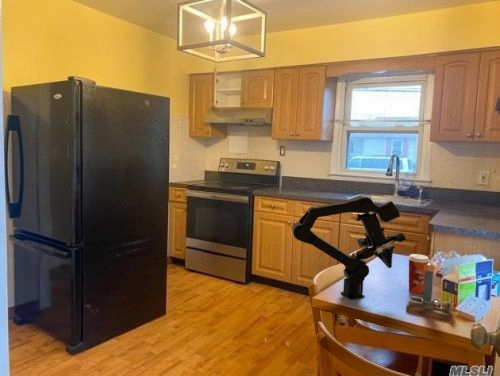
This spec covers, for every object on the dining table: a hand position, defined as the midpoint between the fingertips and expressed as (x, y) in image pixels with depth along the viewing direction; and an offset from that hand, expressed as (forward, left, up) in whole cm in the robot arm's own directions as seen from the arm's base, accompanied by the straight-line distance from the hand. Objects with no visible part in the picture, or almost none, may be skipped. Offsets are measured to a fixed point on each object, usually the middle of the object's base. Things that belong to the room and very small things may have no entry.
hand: (390, 267), depth 140 cm
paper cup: (+17, +3, -12) cm, 21 cm away
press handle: (+6, -14, -10) cm, 18 cm away
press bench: (+5, -13, -12) cm, 19 cm away
